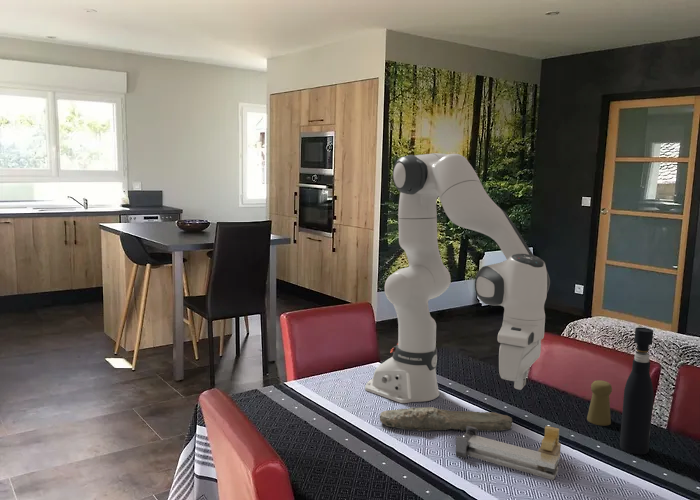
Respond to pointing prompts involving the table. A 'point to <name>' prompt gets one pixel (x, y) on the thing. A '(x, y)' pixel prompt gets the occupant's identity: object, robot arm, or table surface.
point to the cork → (600, 403)
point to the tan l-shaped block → (550, 438)
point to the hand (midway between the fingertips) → (519, 387)
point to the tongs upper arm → (512, 451)
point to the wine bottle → (638, 398)
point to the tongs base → (499, 458)
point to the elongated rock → (444, 419)
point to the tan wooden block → (555, 451)
